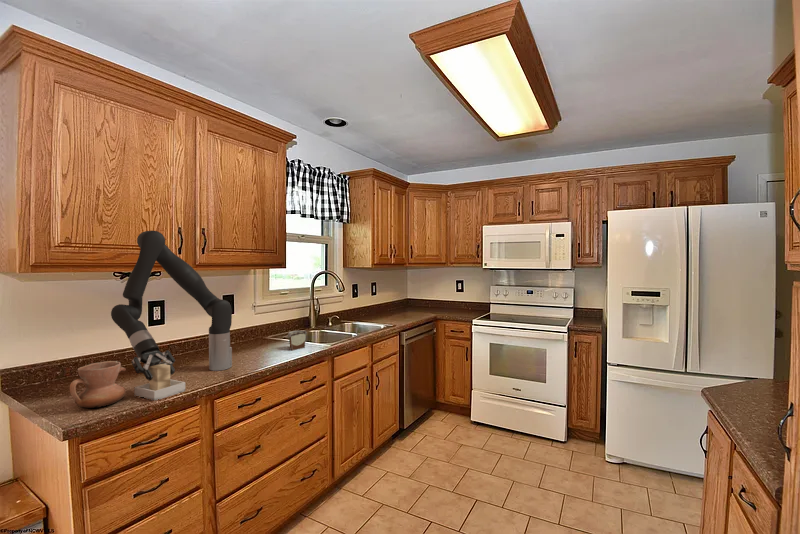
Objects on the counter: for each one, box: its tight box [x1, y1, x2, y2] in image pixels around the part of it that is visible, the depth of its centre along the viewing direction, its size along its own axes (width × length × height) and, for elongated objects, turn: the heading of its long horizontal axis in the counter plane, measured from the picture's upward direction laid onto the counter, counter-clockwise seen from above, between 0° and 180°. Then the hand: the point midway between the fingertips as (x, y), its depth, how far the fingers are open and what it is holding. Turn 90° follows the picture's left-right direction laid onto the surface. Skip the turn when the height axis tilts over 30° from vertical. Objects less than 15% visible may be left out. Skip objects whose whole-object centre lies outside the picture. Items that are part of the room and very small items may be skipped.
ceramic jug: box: [69, 360, 127, 409], centre depth 140 cm, size 18×14×14 cm
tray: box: [134, 378, 186, 402], centre depth 152 cm, size 12×12×4 cm
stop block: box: [148, 364, 171, 391], centre depth 152 cm, size 5×5×10 cm
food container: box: [287, 330, 308, 352], centre depth 230 cm, size 12×6×10 cm, turn 144°
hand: (162, 376), depth 151 cm, fingers open, 8 cm apart
